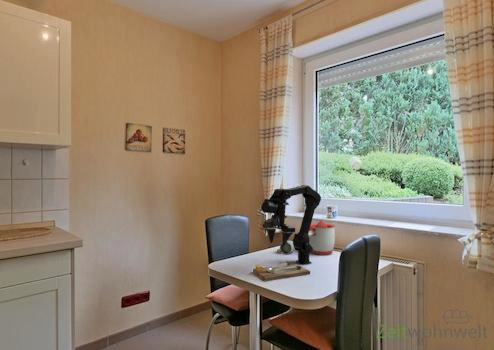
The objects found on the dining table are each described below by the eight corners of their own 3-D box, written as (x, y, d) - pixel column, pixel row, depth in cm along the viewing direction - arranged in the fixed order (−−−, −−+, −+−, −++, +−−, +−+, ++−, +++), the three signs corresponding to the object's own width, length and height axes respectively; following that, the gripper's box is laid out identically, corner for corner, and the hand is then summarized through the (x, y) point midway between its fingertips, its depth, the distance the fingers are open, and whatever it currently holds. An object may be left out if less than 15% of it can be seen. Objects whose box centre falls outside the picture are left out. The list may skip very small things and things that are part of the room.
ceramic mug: (295, 252, 191) (295, 239, 191) (291, 255, 183) (291, 242, 183) (279, 250, 195) (279, 238, 195) (275, 253, 188) (274, 240, 188)
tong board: (252, 272, 152) (252, 265, 152) (294, 266, 161) (294, 260, 161) (265, 281, 139) (265, 274, 139) (310, 274, 148) (310, 267, 148)
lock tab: (255, 269, 151) (255, 265, 151) (260, 268, 151) (260, 264, 151) (258, 271, 148) (258, 267, 148) (262, 270, 149) (262, 266, 149)
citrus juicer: (301, 251, 191) (301, 219, 191) (323, 248, 199) (323, 217, 199) (317, 257, 177) (317, 223, 177) (340, 254, 184) (340, 221, 184)
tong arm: (265, 272, 147) (265, 268, 147) (286, 264, 159) (286, 260, 159) (269, 273, 145) (269, 269, 145) (289, 265, 158) (289, 261, 158)
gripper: (255, 211, 159) (253, 241, 158) (280, 214, 144) (277, 248, 143) (271, 211, 166) (269, 241, 165) (297, 215, 151) (294, 247, 150)
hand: (277, 244), depth 156 cm, fingers open, 9 cm apart
